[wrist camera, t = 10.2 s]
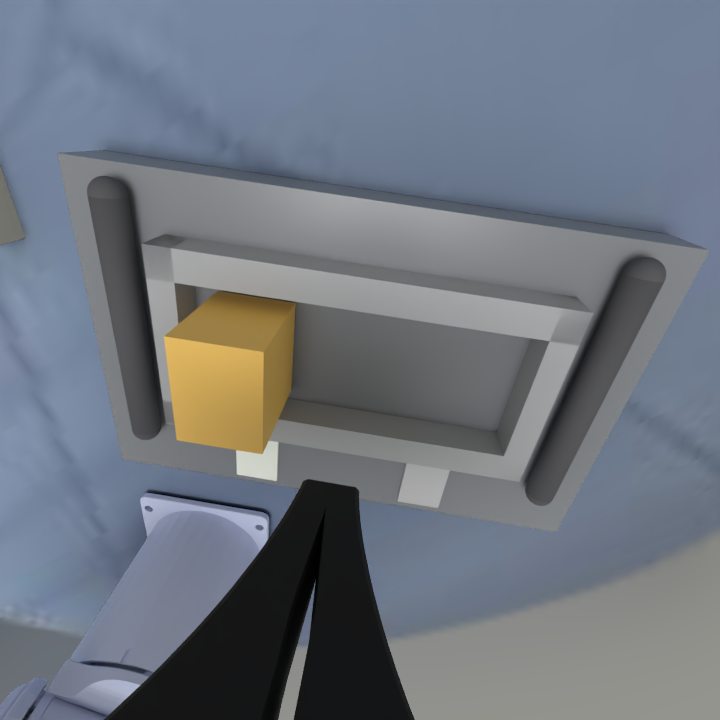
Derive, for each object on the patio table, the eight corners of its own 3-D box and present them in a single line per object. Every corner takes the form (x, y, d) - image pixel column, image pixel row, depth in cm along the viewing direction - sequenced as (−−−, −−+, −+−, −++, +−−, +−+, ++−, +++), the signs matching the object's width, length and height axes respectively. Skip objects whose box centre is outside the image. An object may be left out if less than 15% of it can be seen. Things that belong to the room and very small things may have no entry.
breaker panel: (541, 493, 22) (566, 559, 19) (149, 428, 23) (103, 481, 20) (667, 234, 16) (742, 263, 12) (104, 150, 16) (20, 154, 13)
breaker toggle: (291, 390, 17) (262, 454, 14) (222, 379, 18) (176, 440, 14) (295, 302, 16) (263, 352, 12) (218, 291, 16) (164, 336, 12)
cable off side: (544, 493, 19) (552, 513, 18) (518, 488, 19) (525, 509, 18) (660, 255, 14) (681, 266, 13) (624, 250, 14) (642, 260, 13)
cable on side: (167, 430, 20) (154, 447, 19) (143, 426, 20) (128, 443, 19) (133, 176, 14) (111, 180, 13) (99, 172, 14) (74, 174, 13)
